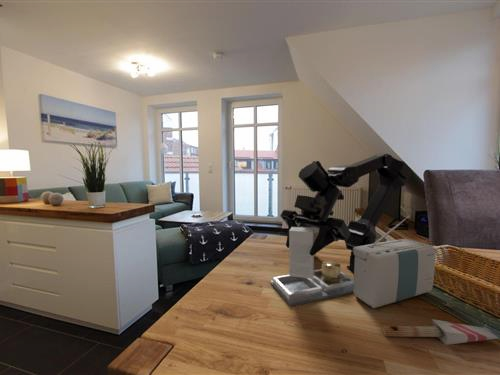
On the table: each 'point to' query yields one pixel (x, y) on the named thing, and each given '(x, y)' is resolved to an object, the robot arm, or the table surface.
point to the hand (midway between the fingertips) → (298, 250)
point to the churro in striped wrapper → (442, 332)
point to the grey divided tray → (314, 285)
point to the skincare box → (301, 252)
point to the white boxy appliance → (393, 270)
